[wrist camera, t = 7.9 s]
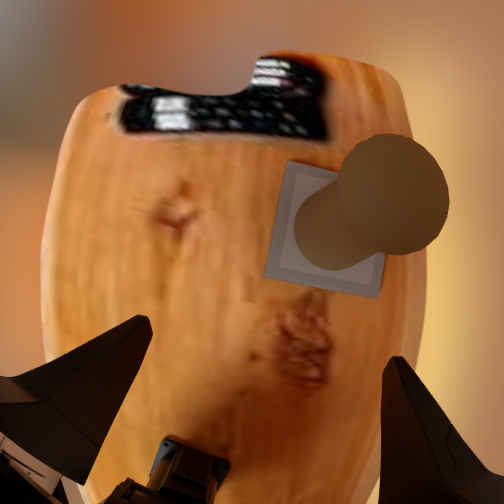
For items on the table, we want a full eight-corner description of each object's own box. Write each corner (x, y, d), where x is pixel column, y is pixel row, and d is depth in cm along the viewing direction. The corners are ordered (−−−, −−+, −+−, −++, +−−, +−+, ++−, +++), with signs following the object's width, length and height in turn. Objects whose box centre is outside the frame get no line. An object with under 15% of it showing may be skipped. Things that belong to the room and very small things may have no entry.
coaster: (372, 298, 20) (378, 298, 19) (263, 276, 20) (264, 276, 19) (386, 192, 21) (391, 188, 20) (285, 165, 21) (287, 159, 20)
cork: (381, 219, 19) (477, 172, 8) (346, 286, 19) (442, 293, 8) (318, 176, 20) (375, 88, 9) (277, 242, 19) (312, 198, 8)
